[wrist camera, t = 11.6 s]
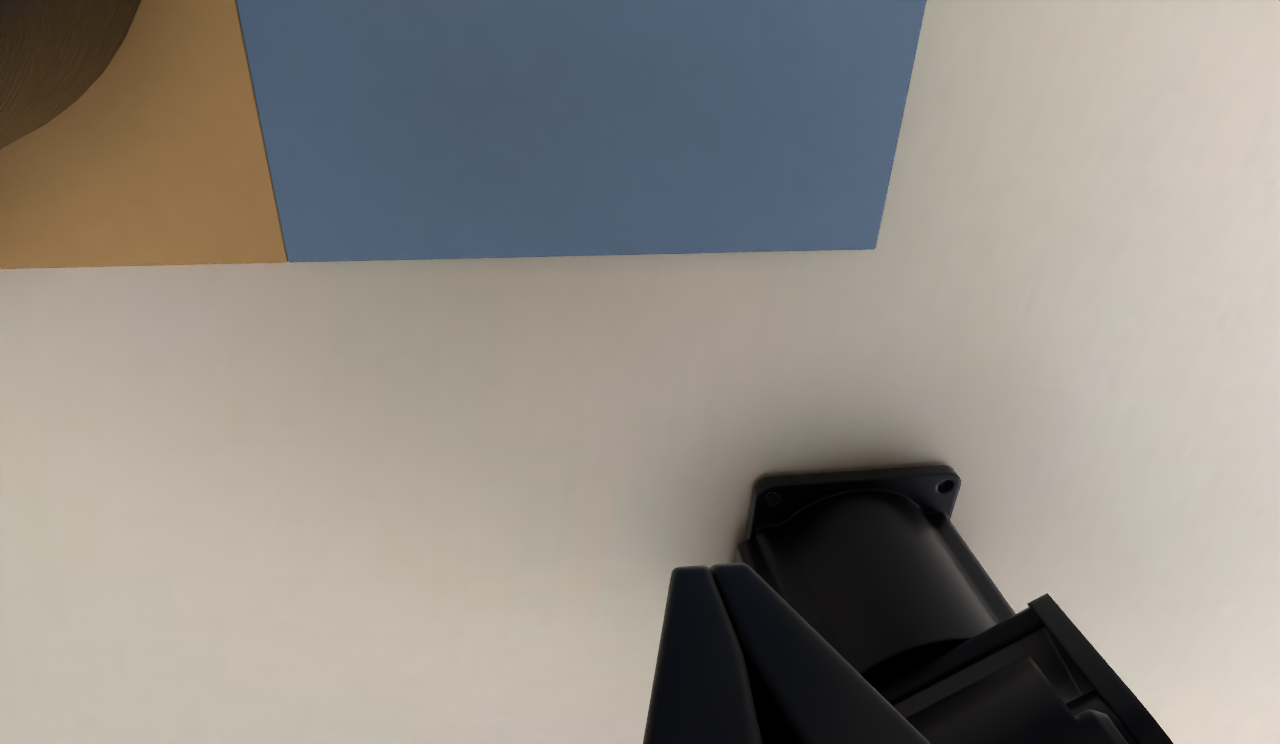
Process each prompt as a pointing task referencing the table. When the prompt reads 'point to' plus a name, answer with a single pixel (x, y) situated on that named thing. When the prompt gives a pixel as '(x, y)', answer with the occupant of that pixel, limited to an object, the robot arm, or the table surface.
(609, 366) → the table surface
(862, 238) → the desk mat
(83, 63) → the pot
